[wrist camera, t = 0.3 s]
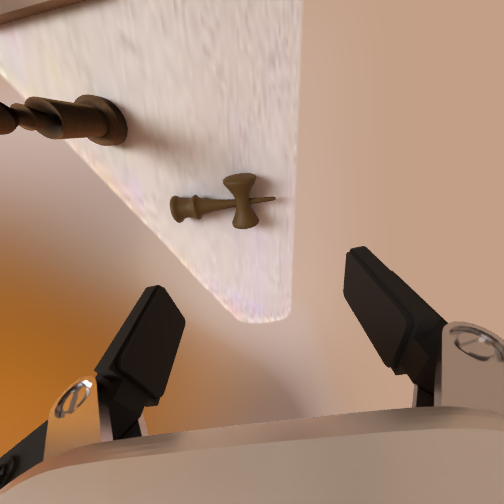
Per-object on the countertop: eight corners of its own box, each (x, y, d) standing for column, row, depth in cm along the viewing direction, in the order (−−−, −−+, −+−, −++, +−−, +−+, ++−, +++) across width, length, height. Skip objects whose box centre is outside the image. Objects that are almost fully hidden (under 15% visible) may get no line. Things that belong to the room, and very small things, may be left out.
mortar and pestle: (101, 149, 32) (-25, 165, 17) (73, 103, 29) (-115, 72, 14) (135, 139, 32) (36, 146, 17) (111, 91, 28) (-42, 44, 13)
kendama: (170, 180, 36) (272, 167, 35) (186, 224, 42) (275, 215, 40) (157, 189, 31) (276, 175, 30) (177, 238, 37) (278, 227, 35)
